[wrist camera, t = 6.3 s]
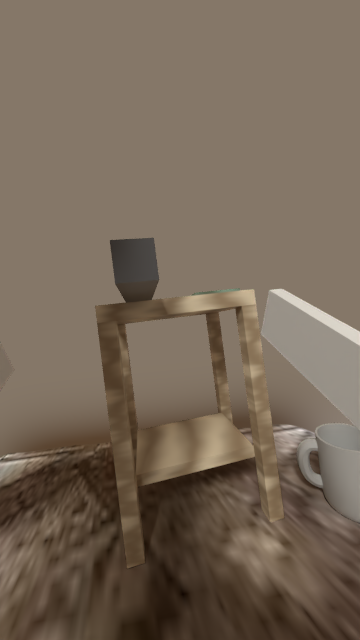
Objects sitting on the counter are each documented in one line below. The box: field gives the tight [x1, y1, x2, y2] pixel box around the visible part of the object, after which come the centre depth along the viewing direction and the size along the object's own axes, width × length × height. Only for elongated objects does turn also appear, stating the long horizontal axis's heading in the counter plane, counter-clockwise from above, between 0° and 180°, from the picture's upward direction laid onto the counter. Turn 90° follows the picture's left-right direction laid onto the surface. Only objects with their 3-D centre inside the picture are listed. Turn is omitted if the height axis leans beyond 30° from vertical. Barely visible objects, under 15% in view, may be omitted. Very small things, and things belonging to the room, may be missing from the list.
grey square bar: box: [110, 238, 159, 303], centre depth 28 cm, size 3×26×3 cm, turn 10°
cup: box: [297, 423, 360, 523], centre depth 30 cm, size 7×10×9 cm
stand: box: [95, 289, 284, 569], centre depth 34 cm, size 20×16×30 cm
